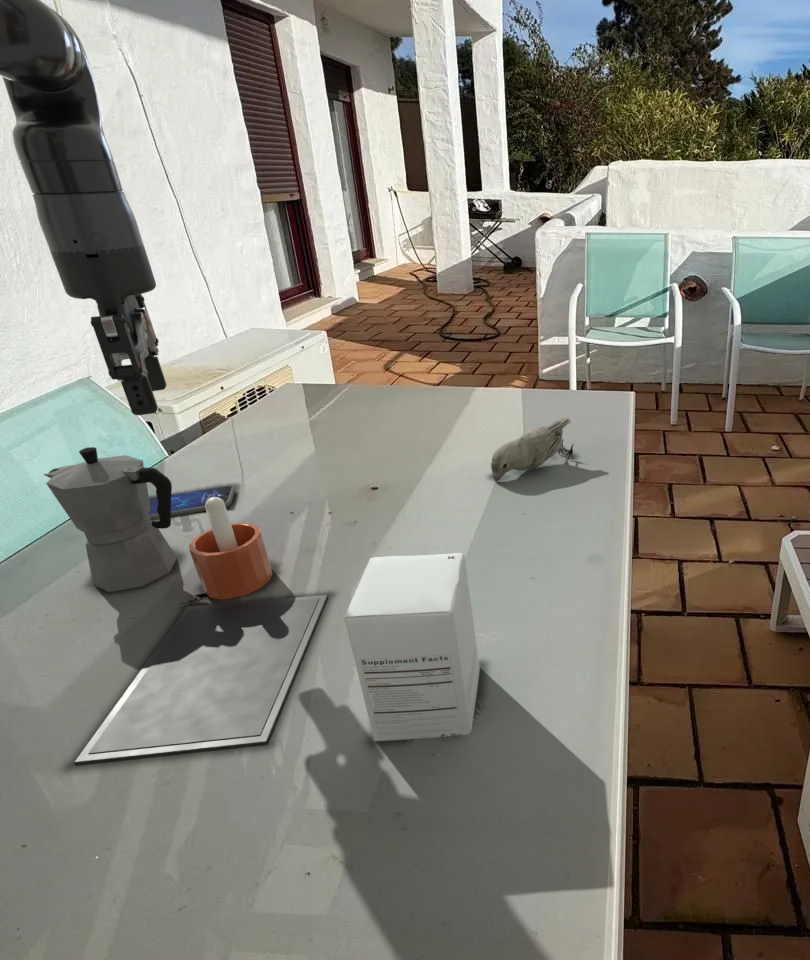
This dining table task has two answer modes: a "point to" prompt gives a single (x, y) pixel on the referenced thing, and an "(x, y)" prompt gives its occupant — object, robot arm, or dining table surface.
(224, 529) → the off-white long cylinder
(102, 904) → the dining table surface
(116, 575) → the coffeepot
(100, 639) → the dining table surface
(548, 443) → the decorative bird
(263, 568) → the pen pot
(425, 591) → the rectangular carton
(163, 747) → the tablet
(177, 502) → the smartphone
